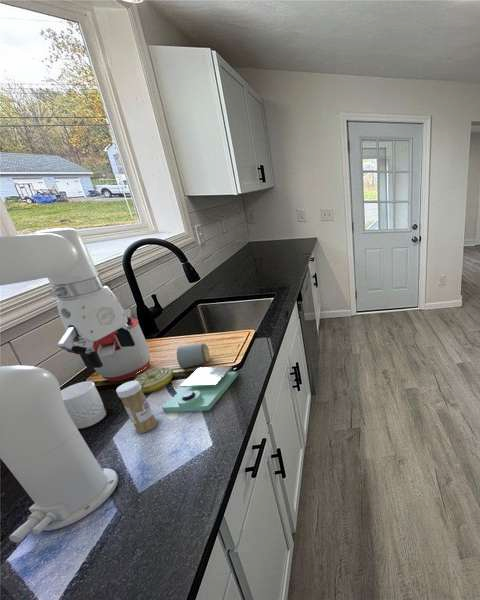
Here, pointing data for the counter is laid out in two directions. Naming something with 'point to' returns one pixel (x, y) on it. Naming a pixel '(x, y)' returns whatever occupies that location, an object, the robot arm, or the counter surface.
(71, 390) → the white cup
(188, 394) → the tare button
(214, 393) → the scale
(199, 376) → the scale pan
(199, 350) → the ceramic mug
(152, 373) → the decorated donut
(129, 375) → the citrus juicer
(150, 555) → the counter surface
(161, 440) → the counter surface
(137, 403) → the sprinkles bottle
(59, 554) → the counter surface
